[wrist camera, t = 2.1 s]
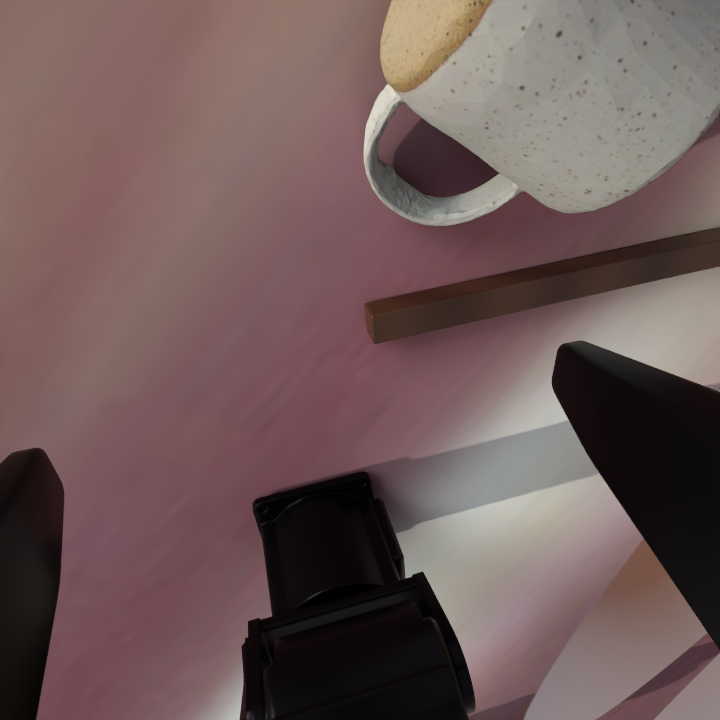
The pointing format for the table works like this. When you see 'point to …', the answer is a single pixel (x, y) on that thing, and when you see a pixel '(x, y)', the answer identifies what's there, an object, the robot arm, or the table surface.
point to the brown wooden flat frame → (540, 286)
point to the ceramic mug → (547, 96)
